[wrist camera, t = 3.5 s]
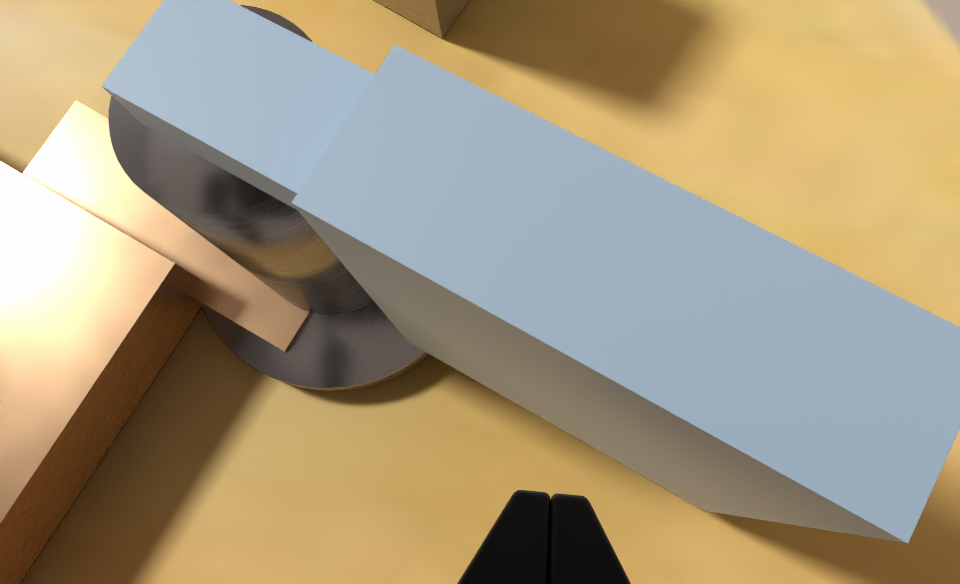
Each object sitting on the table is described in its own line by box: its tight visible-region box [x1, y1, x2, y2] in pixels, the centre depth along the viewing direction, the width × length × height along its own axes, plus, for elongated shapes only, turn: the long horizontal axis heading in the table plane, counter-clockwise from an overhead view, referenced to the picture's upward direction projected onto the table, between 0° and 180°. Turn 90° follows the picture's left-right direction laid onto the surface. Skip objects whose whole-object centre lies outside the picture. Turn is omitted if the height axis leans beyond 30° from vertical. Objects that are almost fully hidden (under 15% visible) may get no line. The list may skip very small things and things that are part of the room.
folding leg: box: [102, 0, 960, 543], centre depth 12 cm, size 9×2×8 cm, turn 60°
